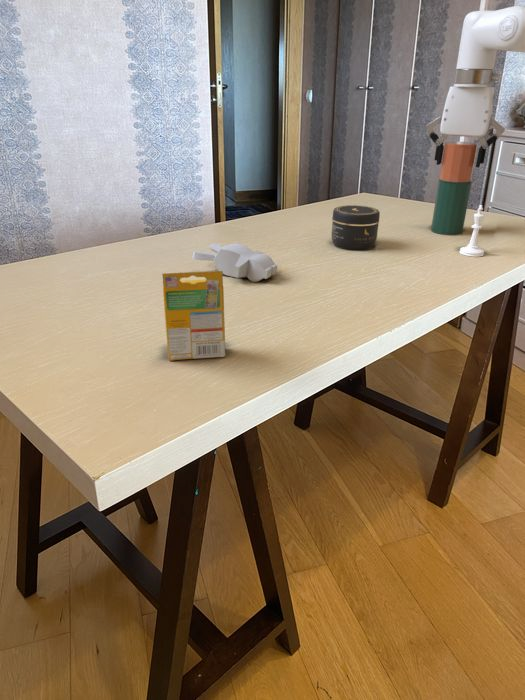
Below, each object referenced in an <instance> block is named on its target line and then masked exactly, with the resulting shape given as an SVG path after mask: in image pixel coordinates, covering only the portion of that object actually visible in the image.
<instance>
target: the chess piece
mask: <svg viewBox="0 0 525 700" xmlns="http://www.w3.org/2000/svg"><path fill="white" fill-rule="evenodd" d="M483 210H484V207H483V205H482V204H479V206H478V208H477V210H476V211H477V213H474V214H473V221H474V224H472V225H471V228H472V229H473V231H472V234H471V237H470V240H469V243H468V244H466V246H462V247H460V249H459V251H458V253H459V254H460V255H462V256H466V257H471V258H472V257H475V258H477V257H484V255H485V250H484V249H483V248H481V247H479V246H480V245H479V244H478V243H479V231H480V230H481V229H483V226H482V225H481V223H482V221H483V219H484V218H485V215H484V214H483V213H482V211H483Z"/></svg>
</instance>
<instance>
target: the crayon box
mask: <svg viewBox="0 0 525 700" xmlns="http://www.w3.org/2000/svg"><path fill="white" fill-rule="evenodd" d="M161 275H162V295H163V296H162V297H163V307H164V322H165V333H166V334H165V335H166V346H167V359H168V361H169V362H174V361H179V360H192V359H193V360H196V359H209V358H210V359H212V358H226V335H225V334H226V333H225V332H226V329H225V327H226V326H225V325H226V323H225V292H224V276H223V275H224V274H223V271H218V270H212V271H211V270H209V271H189V272H169V273H168V272H167V273H166V272H164V273H162V274H161ZM190 277H195V278H205V279H190V280H187V278H190ZM184 278H185V279H186V280H181V279H184Z"/></svg>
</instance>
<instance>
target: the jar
mask: <svg viewBox="0 0 525 700" xmlns="http://www.w3.org/2000/svg"><path fill="white" fill-rule="evenodd" d="M380 214H381V212H380V210H379V209H377V208H375V207H372V206H366V205H355V204H354V205H353V204H352V205H340V206H337V207H334V208H333V211H332V216H331V217H332V218H331V220H332V224H331V240H332V243H333V246H335V247H337V248H338V249H342V250H348V251H366V250H369V249H371V248H373V247H374V246H375V244H376V242H377V239H378V233H379V231H378V230H379V223H380V217H381V215H380Z"/></svg>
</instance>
